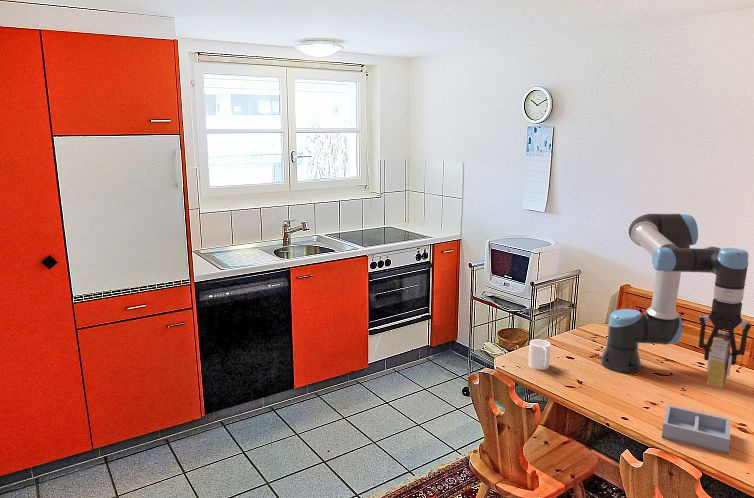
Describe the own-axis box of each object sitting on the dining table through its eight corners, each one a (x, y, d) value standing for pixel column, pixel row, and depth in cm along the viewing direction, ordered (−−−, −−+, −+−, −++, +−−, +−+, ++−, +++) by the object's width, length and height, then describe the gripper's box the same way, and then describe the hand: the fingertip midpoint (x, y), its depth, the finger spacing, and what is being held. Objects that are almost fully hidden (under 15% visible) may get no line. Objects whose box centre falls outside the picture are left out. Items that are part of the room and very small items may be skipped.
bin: (661, 437, 176) (663, 423, 175) (665, 418, 188) (667, 404, 187) (727, 454, 167) (730, 439, 166) (727, 432, 179) (729, 418, 178)
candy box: (710, 374, 176) (718, 329, 173) (726, 378, 173) (734, 332, 170) (705, 384, 169) (713, 337, 166) (721, 388, 167) (729, 341, 163)
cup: (535, 374, 222) (537, 351, 220) (525, 361, 234) (527, 339, 232) (555, 373, 223) (557, 350, 220) (544, 361, 234) (546, 338, 232)
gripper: (693, 298, 167) (685, 370, 172) (763, 308, 158) (752, 383, 163) (694, 292, 173) (686, 361, 178) (762, 301, 164) (751, 373, 169)
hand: (718, 371), depth 171 cm, fingers closed on candy box, 4 cm apart
